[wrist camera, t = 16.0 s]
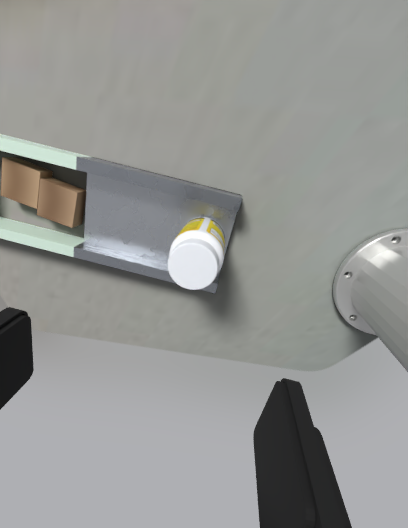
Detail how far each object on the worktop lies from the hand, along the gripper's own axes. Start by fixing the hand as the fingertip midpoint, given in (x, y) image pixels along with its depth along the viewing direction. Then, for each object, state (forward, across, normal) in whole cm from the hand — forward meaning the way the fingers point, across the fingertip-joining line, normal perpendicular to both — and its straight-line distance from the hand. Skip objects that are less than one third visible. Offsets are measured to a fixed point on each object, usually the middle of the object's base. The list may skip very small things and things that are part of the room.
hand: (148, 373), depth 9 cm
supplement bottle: (+20, 0, 0) cm, 20 cm away
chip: (+20, +20, -1) cm, 29 cm away
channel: (+20, +5, 0) cm, 21 cm away
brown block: (+20, +16, 0) cm, 26 cm away
